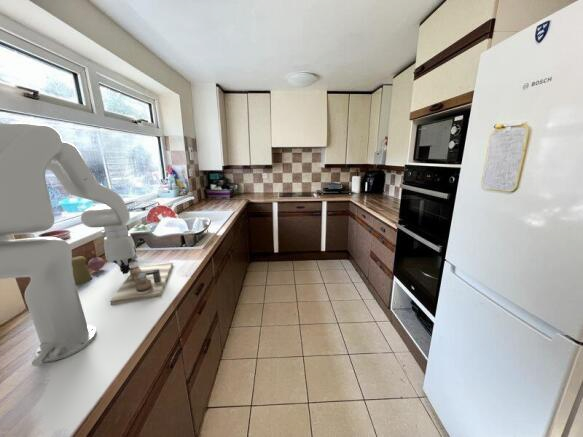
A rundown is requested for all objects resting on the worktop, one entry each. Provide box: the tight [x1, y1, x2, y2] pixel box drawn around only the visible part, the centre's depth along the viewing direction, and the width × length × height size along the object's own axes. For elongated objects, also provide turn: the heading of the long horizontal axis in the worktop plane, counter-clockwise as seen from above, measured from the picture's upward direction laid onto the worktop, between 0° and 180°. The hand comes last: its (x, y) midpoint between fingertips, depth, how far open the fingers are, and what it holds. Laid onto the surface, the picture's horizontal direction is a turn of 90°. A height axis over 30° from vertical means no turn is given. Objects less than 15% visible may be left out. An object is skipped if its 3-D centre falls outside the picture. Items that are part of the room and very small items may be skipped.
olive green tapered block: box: [72, 255, 93, 285], centre depth 100 cm, size 6×6×11 cm
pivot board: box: [109, 262, 174, 306], centre depth 99 cm, size 28×16×6 cm, turn 18°
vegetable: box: [87, 250, 105, 272], centre depth 109 cm, size 6×6×10 cm
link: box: [129, 265, 152, 292], centre depth 95 cm, size 22×5×6 cm, turn 43°
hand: (126, 272), depth 102 cm, fingers closed
